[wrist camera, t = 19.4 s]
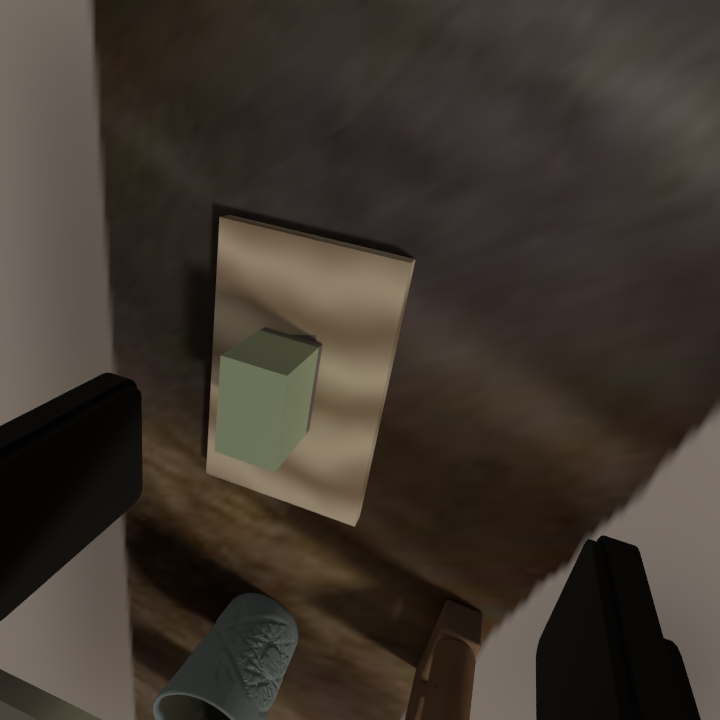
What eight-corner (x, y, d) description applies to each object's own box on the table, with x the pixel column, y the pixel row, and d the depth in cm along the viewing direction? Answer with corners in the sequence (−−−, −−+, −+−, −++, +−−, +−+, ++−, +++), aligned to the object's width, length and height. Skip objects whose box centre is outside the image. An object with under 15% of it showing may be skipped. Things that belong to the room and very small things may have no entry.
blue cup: (314, 615, 53) (260, 730, 42) (294, 673, 57) (240, 790, 47) (229, 573, 55) (156, 673, 44) (216, 632, 59) (147, 737, 48)
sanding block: (264, 327, 41) (220, 355, 35) (322, 344, 40) (287, 375, 34) (255, 412, 44) (214, 451, 38) (309, 430, 43) (274, 472, 37)
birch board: (230, 215, 40) (219, 216, 38) (415, 259, 37) (411, 263, 35) (215, 464, 50) (206, 473, 48) (359, 516, 46) (354, 526, 45)
